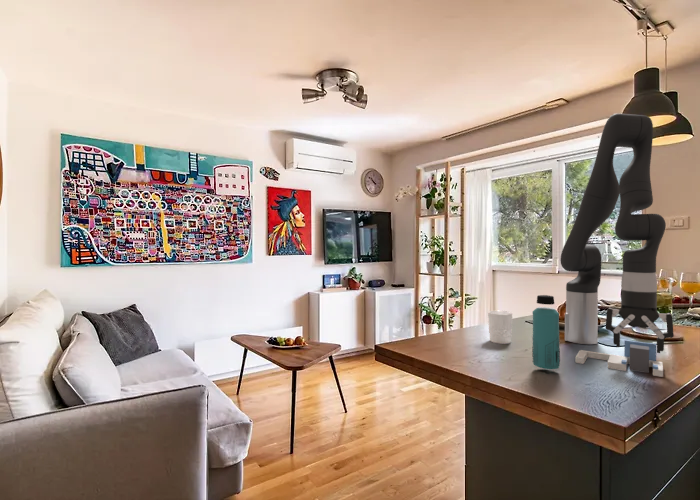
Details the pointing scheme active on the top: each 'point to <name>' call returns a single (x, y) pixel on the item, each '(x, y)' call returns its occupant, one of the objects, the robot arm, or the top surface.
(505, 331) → the white cup
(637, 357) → the plug
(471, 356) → the top surface
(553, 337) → the beverage bottle
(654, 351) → the white prong rack
